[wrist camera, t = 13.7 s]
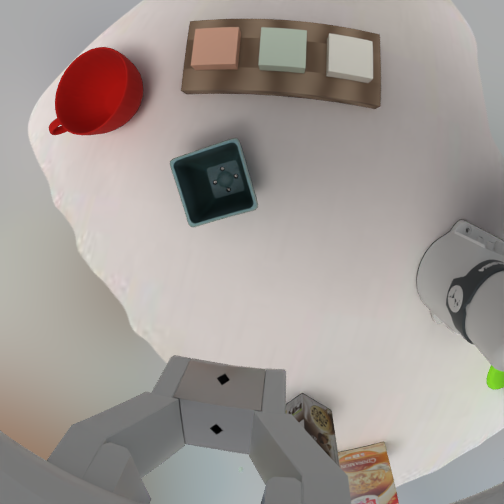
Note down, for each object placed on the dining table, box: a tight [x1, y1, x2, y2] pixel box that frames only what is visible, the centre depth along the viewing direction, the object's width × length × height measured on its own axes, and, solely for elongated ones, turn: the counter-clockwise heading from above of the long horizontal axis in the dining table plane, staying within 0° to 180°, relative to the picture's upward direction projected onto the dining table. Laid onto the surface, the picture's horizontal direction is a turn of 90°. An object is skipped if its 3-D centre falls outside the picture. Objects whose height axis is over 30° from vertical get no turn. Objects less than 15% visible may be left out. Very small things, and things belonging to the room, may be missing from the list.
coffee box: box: [285, 393, 340, 467], centre depth 46 cm, size 9×6×16 cm
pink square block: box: [191, 27, 241, 70], centre depth 34 cm, size 6×6×5 cm
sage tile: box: [258, 27, 307, 73], centre depth 34 cm, size 6×6×5 cm
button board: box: [181, 19, 381, 109], centre depth 35 cm, size 28×12×2 cm, turn 86°
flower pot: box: [170, 138, 258, 227], centre depth 38 cm, size 9×9×9 cm
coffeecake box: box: [338, 442, 399, 504], centre depth 49 cm, size 15×7×20 cm, turn 104°
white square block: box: [326, 33, 373, 83], centre depth 33 cm, size 6×6×5 cm
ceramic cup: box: [49, 47, 143, 135], centre depth 36 cm, size 13×17×10 cm
